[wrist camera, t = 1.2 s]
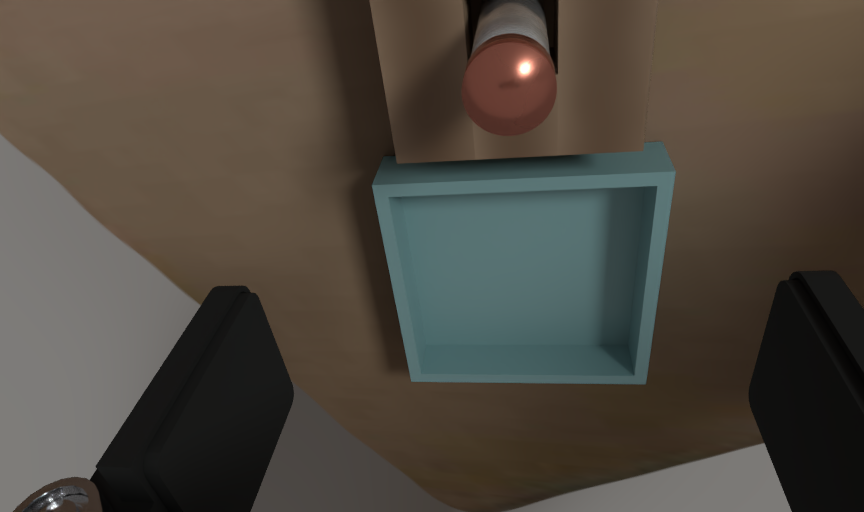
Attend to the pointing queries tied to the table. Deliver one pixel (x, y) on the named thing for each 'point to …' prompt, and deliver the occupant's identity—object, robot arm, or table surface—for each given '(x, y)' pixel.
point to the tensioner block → (574, 68)
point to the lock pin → (510, 68)
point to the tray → (527, 264)
